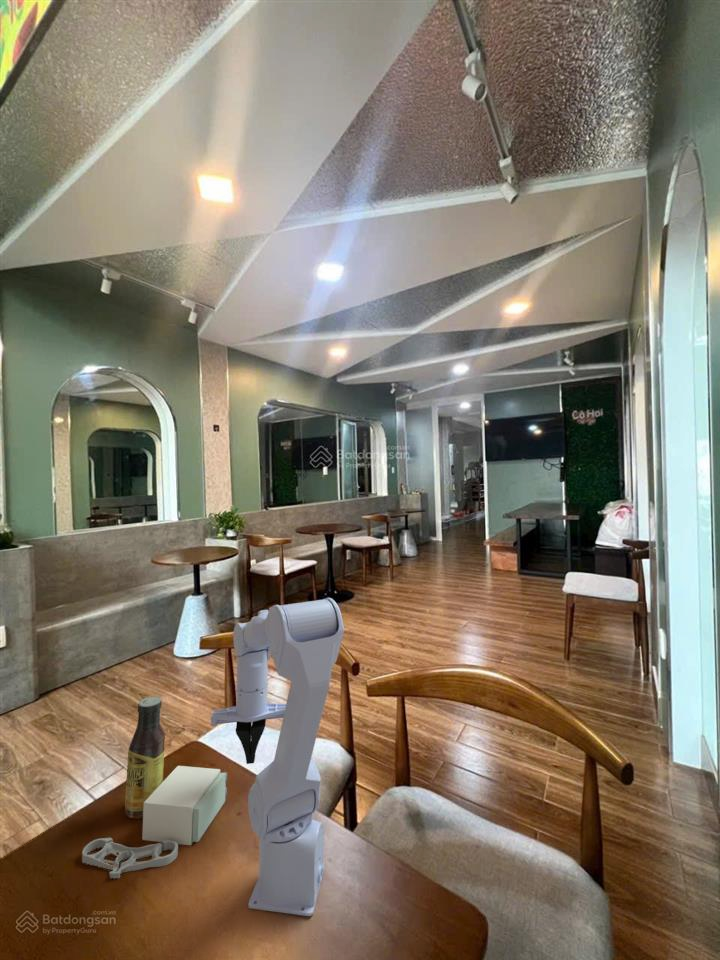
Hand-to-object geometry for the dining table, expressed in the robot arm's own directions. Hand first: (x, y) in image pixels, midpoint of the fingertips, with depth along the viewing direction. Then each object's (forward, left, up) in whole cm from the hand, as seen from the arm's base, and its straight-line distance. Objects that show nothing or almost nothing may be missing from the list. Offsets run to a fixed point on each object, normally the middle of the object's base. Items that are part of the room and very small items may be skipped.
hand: (250, 760), depth 73 cm
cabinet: (+12, +3, -9) cm, 15 cm away
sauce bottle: (+21, +1, -10) cm, 23 cm away
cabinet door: (+6, +2, -9) cm, 11 cm away
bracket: (+16, +11, -10) cm, 22 cm away
